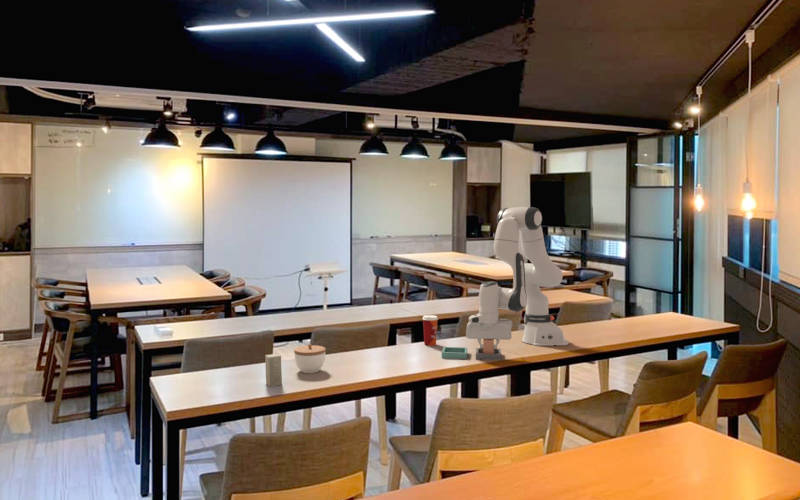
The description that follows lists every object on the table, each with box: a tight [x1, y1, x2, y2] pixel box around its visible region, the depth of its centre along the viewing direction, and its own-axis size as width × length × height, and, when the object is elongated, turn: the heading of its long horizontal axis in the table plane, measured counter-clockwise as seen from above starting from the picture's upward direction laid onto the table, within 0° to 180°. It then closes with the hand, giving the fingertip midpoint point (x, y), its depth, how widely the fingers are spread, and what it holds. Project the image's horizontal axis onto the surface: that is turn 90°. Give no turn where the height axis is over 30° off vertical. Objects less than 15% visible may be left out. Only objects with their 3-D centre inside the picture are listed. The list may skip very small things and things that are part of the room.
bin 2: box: [475, 347, 502, 361], centre depth 258 cm, size 11×11×2 cm
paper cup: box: [422, 314, 439, 347], centre depth 282 cm, size 8×8×14 cm
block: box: [482, 339, 495, 354], centre depth 258 cm, size 4×5×8 cm
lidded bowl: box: [293, 343, 327, 374], centre depth 235 cm, size 13×13×11 cm
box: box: [264, 353, 283, 387], centre depth 216 cm, size 5×4×11 cm
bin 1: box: [441, 346, 468, 360], centre depth 261 cm, size 11×11×2 cm
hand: (488, 348), depth 258 cm, fingers closed on block, 4 cm apart
